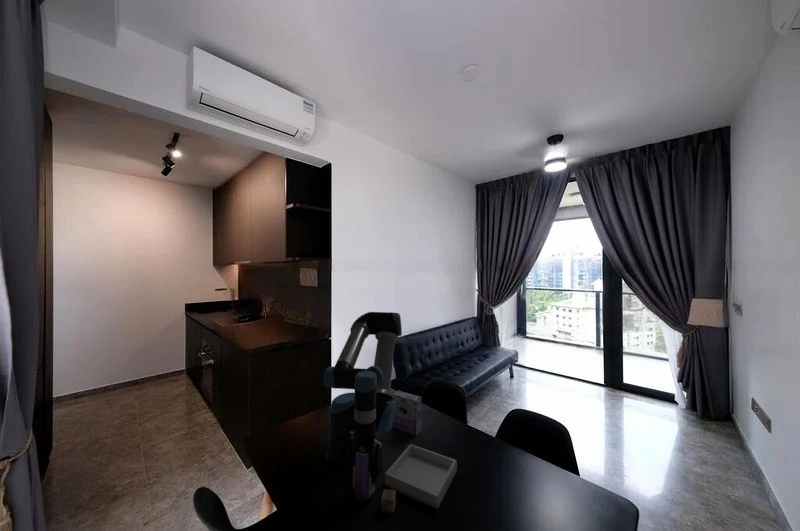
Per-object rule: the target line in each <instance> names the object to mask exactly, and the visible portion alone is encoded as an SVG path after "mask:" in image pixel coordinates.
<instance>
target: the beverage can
mask: <svg viewBox="0 0 800 531" xmlns="http://www.w3.org/2000/svg"><path fill="white" fill-rule="evenodd" d="M370 473H371V472H370V467H369V456H368V454H366V453H365V449H364V448H360V449H358V450H357V449H356V458H355V488H354V496H355V497H356V499H358V500H360V501H367V500H368V499H369V498H371V496H372V494H373V493H372V494H371V496H370V495H369V474H370Z"/></svg>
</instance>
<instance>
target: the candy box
mask: <svg viewBox="0 0 800 531" xmlns="http://www.w3.org/2000/svg"><path fill="white" fill-rule="evenodd" d="M391 395H392V396H393V401H395V402H396V408H395V416H394V421H393V424H392V427H391V429H394V430H397V431H400V432H403V433H405V434H408V435H411V436H414V437H417V436H418V435H419V434H420V433H421V432H422V396H420V395H415V394H414V393H413V394H412V393H408V392H404V391H401V390H396V391H395V392H394V393H392V394H391Z"/></svg>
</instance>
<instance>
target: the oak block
mask: <svg viewBox="0 0 800 531" xmlns="http://www.w3.org/2000/svg"><path fill="white" fill-rule="evenodd" d="M380 502H381V503H380V504H381V505H380V507H381V508H380V512H384V513H390V514H394V512H395V507H396V504H397V491H396V490H394V489H386V488H384V489H383V491H382V495H381V498H380Z"/></svg>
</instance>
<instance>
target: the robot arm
mask: <svg viewBox="0 0 800 531" xmlns="http://www.w3.org/2000/svg"><path fill="white" fill-rule="evenodd" d="M349 331H350V333H349V335H348V338H347V340H346V341H345V344H344V346H343V348H342V349H341V352H340V355H339V356H338V359H337V360H336V363H335V365H334V366H328V367H326V369H324V370H325V371H324V373H323V379H322V380H323V385H324V387H326V388H328V389H329V388H330V389H339V390H340V389H341V390H342V389H343V390H344V389H346V390H354V392H346V393H342V394H339V395H337V396H336V397H334V398H333V399H332V401H331V405H330V410H329V412H330V431H329V434H330V435H329V439H328V442H327V445H326V447H325V459H326V461H327V462H328V463H330V464H332V465H335V466H346V465H351V475H352V488H354V489H355V458H356V449H357V450H358V449H360V448H364V449H365V453H366V454H368V456H369V467H370V472H371V473H370V474H369V495H370V497H372V495H371V494H373V493H374V492H375V491H376V484H377V483H378V482H377V481H378V476H379V475H380V474H381V473H382V472H383V452H382V450H383V449H382V448H383V444H384V442H383V441H382V440H380V441H379V440H377V437H376V433H378V434H380V433H388V432H390V431H391V429H392V424H393V421H394V416H395V408H396V402H395V401H393V396H392V394H391V386H392V385H391V384H392V374H393V365H394V364H393V363H394V355H395V354H394V353H395V345H396V344H395V343H396V342H397V341H399V337H401V336H402V333H403V331H402V319H401V314H400V313H399V312H392V311H390V312H387V311H386V312H385V311H382V312H381V311H370V312H366V313H364V314H362V315H360V316H358V317H357V318H356V320H355V321H353V323H352V325H351V327H350V330H349ZM371 335H373V336H374V338H375V339H376V340H377V343H376V347H375V348H376V349H375V357H374V364H373V365H371V366H369V367H367V368H355V366H356V363H357V361H358V358H359V355H360V353H361V351H362V348H363V346H364V344H365V340H366V339H367V338H368V337H369V336H371Z"/></svg>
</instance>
